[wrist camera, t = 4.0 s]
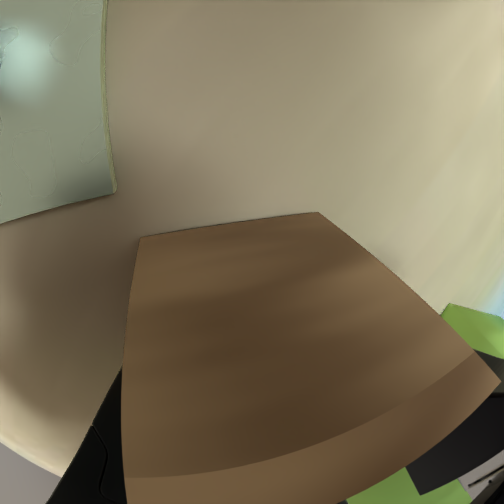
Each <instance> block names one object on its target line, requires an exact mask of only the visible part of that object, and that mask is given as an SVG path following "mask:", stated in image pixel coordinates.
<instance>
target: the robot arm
mask: <svg viewBox="0 0 504 504" xmlns="http://www.w3.org/2000/svg"><path fill="white" fill-rule="evenodd" d="M472 349H473V348H472ZM473 350H474V351H475V352H476V353H477V354H478V355H479V356H480V357H481V359H482V360H483V361H484V362H485V363H486V364H487V365H488V366H489V368H490V369H491V370H492V371H493V372H494V373H495V374H496V376H497V377H498V378H499V379H500V380H501V383H500V384H499V385H498V386H497V387H496V388H495V389H494V391H493V392H492V393H491V394H490V395H489V396H488V397H487V398H486V399H485V400H484V401H483V402H482V404H481V405H480V406H479V407H478V408H477V409H476V410H475V411H474V412H473V413H472V414H471V415H469V416H468V417H467V418H466V419H465V420H464V421H463V422H462V423H461V424H460V425H459V426H458V427H456V428H455V429H454V430H453V431H452V432H451V433H450V434H448V435H447V436H446V437H445V438H444V439H442V440H441V441H440V442H439V443H437V444H436V445H435V446H433V447H432V448H431V449H430V450H428V451H427V452H426V453H424V454H423V455H421V456H420V457H419V458H417V459H416V460H414V461H413V462H411V463H410V464H408V465H407V466H405V468H406V470H407V472H408V474H409V476H410V478H411V480H412V482H413V484H414V486H415V487H416V489H417V491H418V493H419V495H420V496H421V495H424V494H426V493H428V492H431V491H433V490H435V489H437V488H440V487H442V486H444V485H446V484H448V483H450V482H452V481H454V480H456V479H458V481H459V482H460V484H461V485H462V487H463V489H464V490H465V491H467V492H468V494H469V495H470V497H471V499H472V500H473V501H472V502H471V503H470V504H504V359H501V358H498V357H495V356H492V355H489V354H487V353H484V352H481V351H478V350H476V349H473ZM122 368H123V365H122V367H121V369H120V371H119V373H118V375H117V376H116V378H115V380H114V382H113V384H112V386H111V387H110V389H109V391H108V393H107V395H106V397H105V399H104V401H103V403H102V404H101V406H100V408H99V410H98V412H97V414H96V416H95V418H94V420H93V422H92V425H93V426H92V425H91V426H90V428H89V430H88V432H87V434H86V436H85V438H84V440H83V442H82V444H81V446H80V448H79V450H78V451H77V453H76V455H75V457H74V458H73V460H72V462H71V463H70V465H69V467H68V468H67V470H66V472H65V473H64V475H63V477H62V478H61V480H60V482H59V483H58V485H57V487H56V488H55V490H54V492H53V493H52V495H51V497H50V498H49V500H48V501H47V502H46V503H45V504H127V497H126V489H125V480H124V469H123V456H122V435H121V390H122Z"/></svg>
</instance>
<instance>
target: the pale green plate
mask: <svg viewBox="0 0 504 504" xmlns="http://www.w3.org/2000/svg"><path fill="white" fill-rule="evenodd" d="M107 4H108V0H0V224H1V223H4V222H7V221H10V220H14V219H17V218H20V217H23V216H27V215H30V214H33V213H37V212H40V211H44V210H48V209H51V208H55V207H59V206H63V205H67V204H71V203H75V202H79V201H83V200H87V199H92V198H96V197H101V196H105V195H110V194H114V193H115V191H116V190H117V184H116V178H115V172H114V165H113V158H112V151H111V144H110V135H109V126H108V115H107V102H106V83H105V34H106V16H107Z"/></svg>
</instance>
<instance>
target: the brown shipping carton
mask: <svg viewBox="0 0 504 504" xmlns="http://www.w3.org/2000/svg"><path fill="white" fill-rule="evenodd" d="M500 383H501V380H500V379H499V378H498V377H497V376H496V374H495V373H494V372H493V371H492V370H491V369H490V368H489V366H488V365H487V364H486V363H485V362H484V361H483V360H482V359H481V357H480V356H479V355H478V354H477V353H476V352H475V351H474V350H473V349H472V348H471V347H470V346H469V345H468V344H467V342H466V341H465V340H464V339H463V338H462V337H461V336H460V335H459V334H458V333H457V332H456V331H455V330H454V329H453V328H452V327H451V326H450V325H449V324H448V323H447V322H446V321H445V320H444V319H443V318H442V317H441V316H440V315H439V314H438V313H437V312H436V311H435V310H434V309H432V308H431V307H430V306H429V305H428V304H427V303H426V302H425V301H424V300H423V299H422V298H421V297H420V296H419V295H418V294H416V293H415V292H414V291H413V290H412V289H411V288H410V287H409V286H408V285H407V284H405V283H404V282H403V281H402V280H401V279H400V278H399V277H397V276H396V275H395V274H394V273H393V272H392V271H391V270H389V269H388V268H387V267H386V266H385V265H384V264H382V263H381V262H380V261H379V260H378V259H377V258H375V257H374V256H373V255H372V254H371V253H369V252H368V251H367V250H366V249H365V248H363V247H362V246H361V245H360V244H358V243H357V242H356V241H355V240H353V239H352V238H351V237H350V236H348V235H347V234H346V233H345V232H343V231H342V230H341V229H340V228H338V227H337V226H336V225H334V224H333V223H332V222H331V221H329V220H328V219H327V218H325V217H324V216H323V215H321V214H320V213H319V212H314V213H306V214H298V215H289V216H281V217H274V218H266V219H258V220H251V221H244V222H237V223H230V224H223V225H216V226H209V227H202V228H196V229H189V230H183V231H177V232H171V233H165V234H159V235H153V236H147V237H141V238H140V241H139V246H138V251H137V256H136V262H135V267H134V273H133V279H132V285H131V292H130V298H129V306H128V313H127V322H126V331H125V341H124V353H123V368H122V390H121V435H122V456H123V469H124V480H125V489H126V497H127V504H337V503H339V502H341V501H343V500H346V499H348V498H350V497H352V496H354V495H356V494H358V493H360V492H362V491H364V490H366V489H368V488H370V487H372V486H374V485H375V484H377V483H379V482H381V481H383V480H384V479H386V478H388V477H389V476H391V475H393V474H394V473H396V472H398V471H399V470H401V469H402V468H404V467H405V466H407V465H408V464H410V463H411V462H413V461H414V460H416V459H417V458H419V457H420V456H421V455H423V454H424V453H426V452H427V451H428V450H430V449H431V448H432V447H433V446H435V445H436V444H437V443H439V442H440V441H441V440H442V439H444V438H445V437H446V436H447V435H448V434H450V433H451V432H452V431H453V430H454V429H455V428H456V427H458V426H459V425H460V424H461V423H462V422H463V421H464V420H465V419H466V418H467V417H468V416H469V415H471V414H472V413H473V412H474V411H475V410H476V409H477V408H478V407H479V406H480V405H481V404H482V402H483V401H484V400H485V399H486V398H487V397H488V396H489V395H490V394H491V393H492V392H493V391H494V389H495V388H496V387H497V386H498V385H499V384H500Z"/></svg>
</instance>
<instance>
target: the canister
mask: <svg viewBox="0 0 504 504" xmlns="http://www.w3.org/2000/svg"><path fill="white" fill-rule="evenodd" d="M441 317H442V318H443V319H444V320H445V321H446V322H447V323H448V324H449V325H450V326H451V327H452V328H453V329H454V330H455V331H456V332H457V333H458V334H459V335H460V336H461V337H462V338H463V339H464V340H465V341H466V342H467V344H468V345H469V346H470V347H471V348H473V349H476V350H478V351H481V352H484V353H487V354H489V355H492V356H495V357H498V358H501V359H504V320H503V319H502V318H501V317H499V316H495V315H492V314H488V313H484V312H480V311H477V310H473V309H469V308H465V307H461V306H458V305H454V304H450V303H449V304H448V305H447V307H446V308H445V310H444V311H443V313H442V314H441ZM346 500H347V502H348V504H470V503H471V502H472V501H473V500H472V499H471V497H470V495H469V494H468V492H467V491H465V490H464V489H463V487H462V485H461V484H460V482H459V481H458V479H456V480H454V481H452V482H450V483H448V484H446V485H444V486H442V487H440V488H437V489H435V490H433V491H431V492H428V493H426V494H424V495H421V496H420V495H419V493H418V491H417V489H416V487H415V486H414V484H413V482H412V480H411V478H410V476H409V474H408V472H407V470H406V468H405V467H404V468H402V469H401V470H399V471H398V472H396V473H394V474H393V475H391V476H389V477H388V478H386V479H384V480H383V481H381V482H379V483H377V484H375V485H374V486H372V487H370V488H368V489H366V490H364V491H362V492H360V493H358V494H356V495H354V496H352V497H350V498H348V499H346Z"/></svg>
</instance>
